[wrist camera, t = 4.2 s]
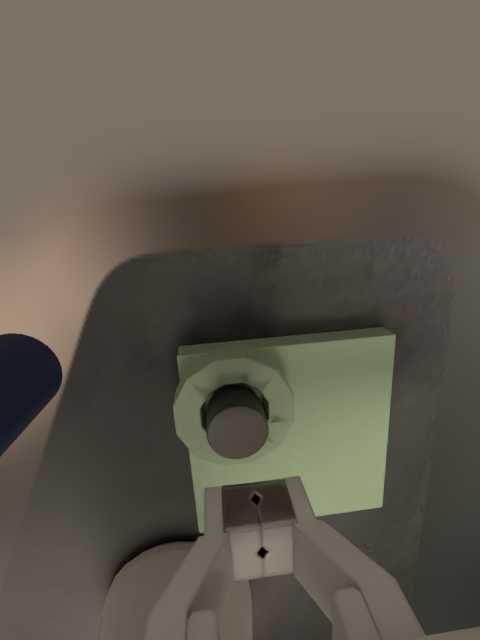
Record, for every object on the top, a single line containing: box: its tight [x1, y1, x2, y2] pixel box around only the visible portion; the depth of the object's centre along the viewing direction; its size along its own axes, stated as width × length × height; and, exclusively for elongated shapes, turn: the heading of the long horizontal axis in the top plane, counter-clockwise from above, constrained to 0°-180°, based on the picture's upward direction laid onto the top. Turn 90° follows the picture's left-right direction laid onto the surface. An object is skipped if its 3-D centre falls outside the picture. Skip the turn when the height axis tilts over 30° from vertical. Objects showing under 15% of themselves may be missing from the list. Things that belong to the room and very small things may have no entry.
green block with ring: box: [173, 327, 396, 533], centre depth 17 cm, size 11×11×3 cm
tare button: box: [207, 386, 269, 459], centre depth 14 cm, size 3×3×2 cm
